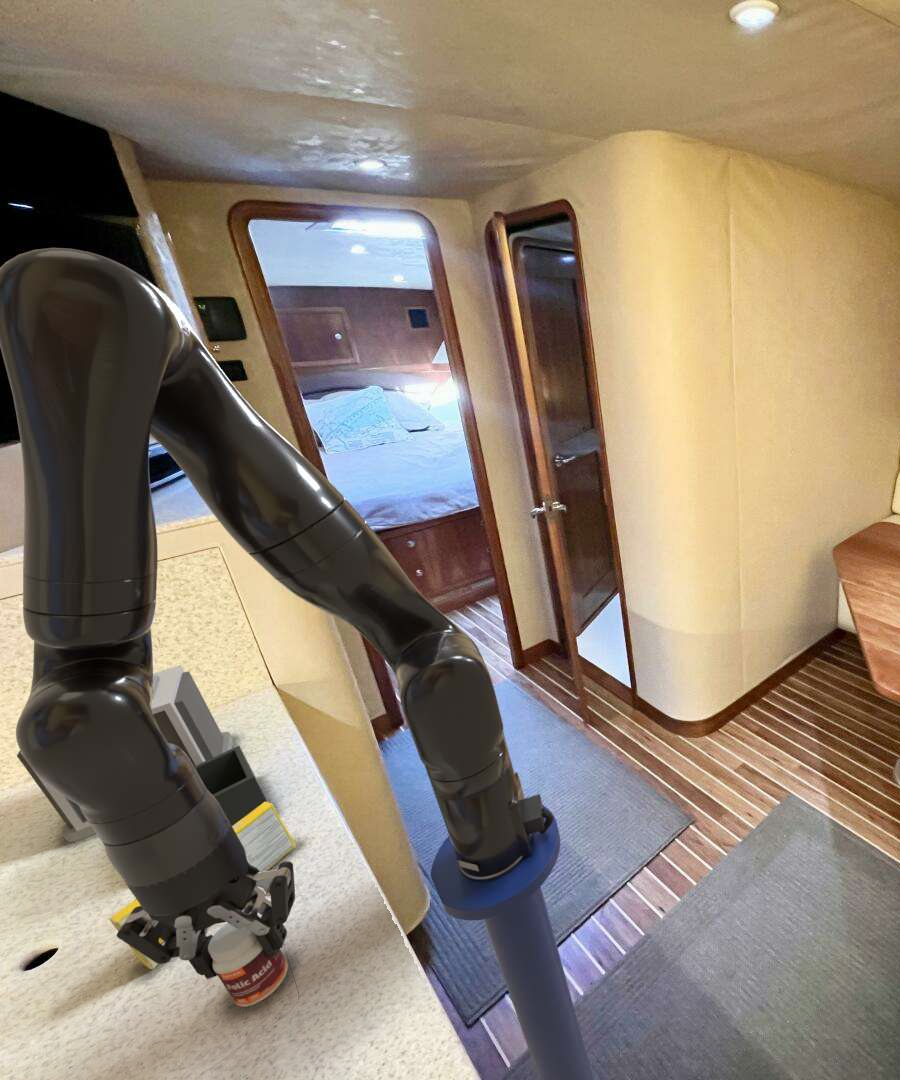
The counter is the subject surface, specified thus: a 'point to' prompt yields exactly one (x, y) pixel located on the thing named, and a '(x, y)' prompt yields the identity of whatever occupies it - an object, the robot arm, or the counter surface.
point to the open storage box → (232, 783)
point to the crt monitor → (180, 725)
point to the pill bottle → (245, 965)
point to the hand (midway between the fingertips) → (247, 957)
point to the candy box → (262, 848)
